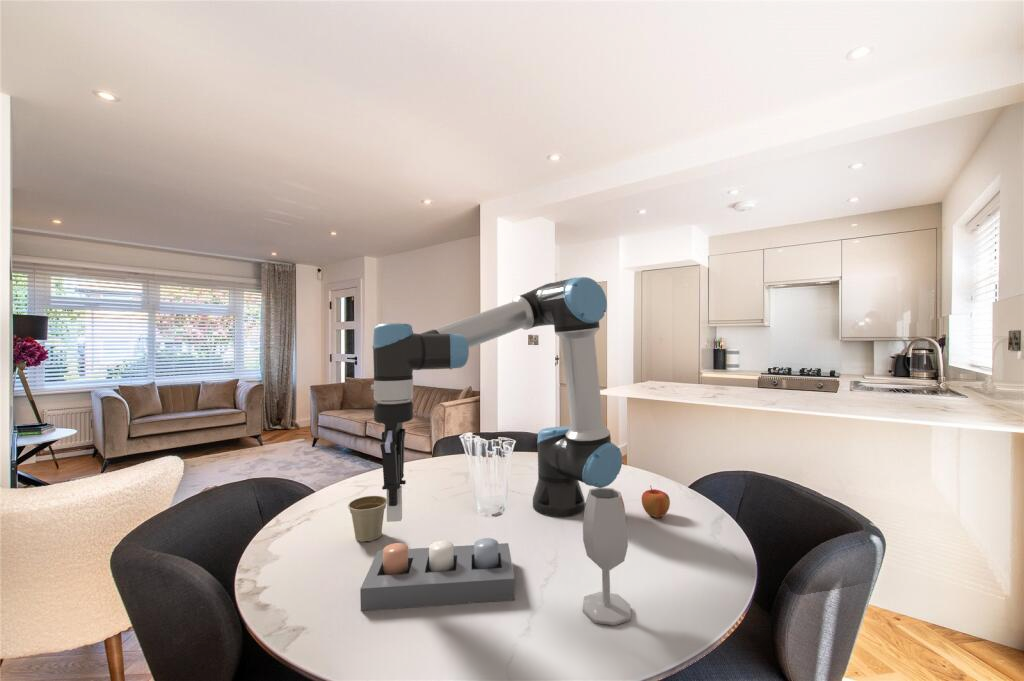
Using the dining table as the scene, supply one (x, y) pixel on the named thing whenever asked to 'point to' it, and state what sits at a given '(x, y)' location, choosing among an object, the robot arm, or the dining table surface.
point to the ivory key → (441, 556)
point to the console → (438, 581)
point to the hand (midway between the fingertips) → (394, 519)
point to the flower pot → (367, 517)
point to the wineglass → (605, 552)
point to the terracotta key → (395, 559)
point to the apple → (655, 502)
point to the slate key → (486, 553)
